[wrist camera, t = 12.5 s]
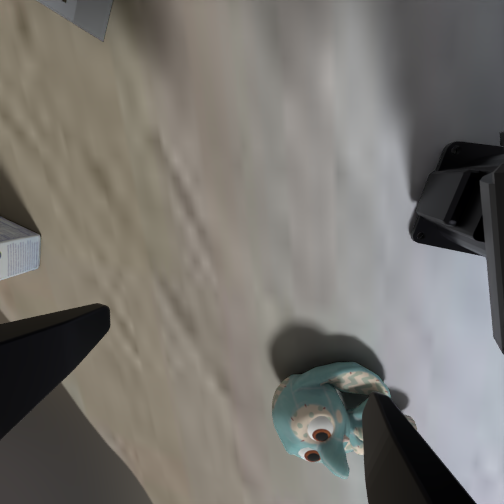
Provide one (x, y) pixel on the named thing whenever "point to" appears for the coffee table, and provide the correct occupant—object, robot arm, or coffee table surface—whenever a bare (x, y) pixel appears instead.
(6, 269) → the medicine box
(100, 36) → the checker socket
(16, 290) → the coffee table surface
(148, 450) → the coffee table surface
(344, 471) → the stuffed animal
